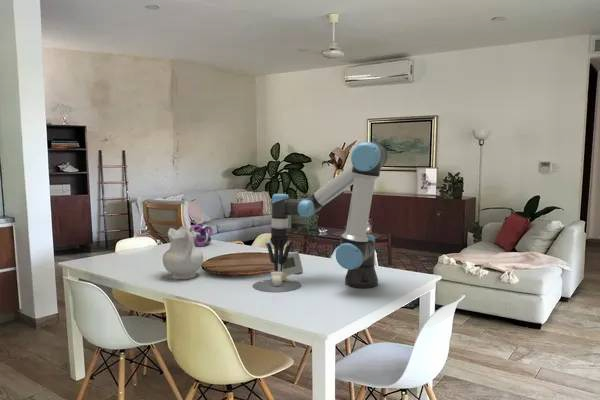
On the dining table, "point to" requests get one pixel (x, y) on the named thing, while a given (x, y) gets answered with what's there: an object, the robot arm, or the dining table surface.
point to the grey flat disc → (285, 287)
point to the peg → (278, 278)
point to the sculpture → (202, 234)
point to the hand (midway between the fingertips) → (278, 277)
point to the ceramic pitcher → (182, 254)
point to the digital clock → (292, 264)
